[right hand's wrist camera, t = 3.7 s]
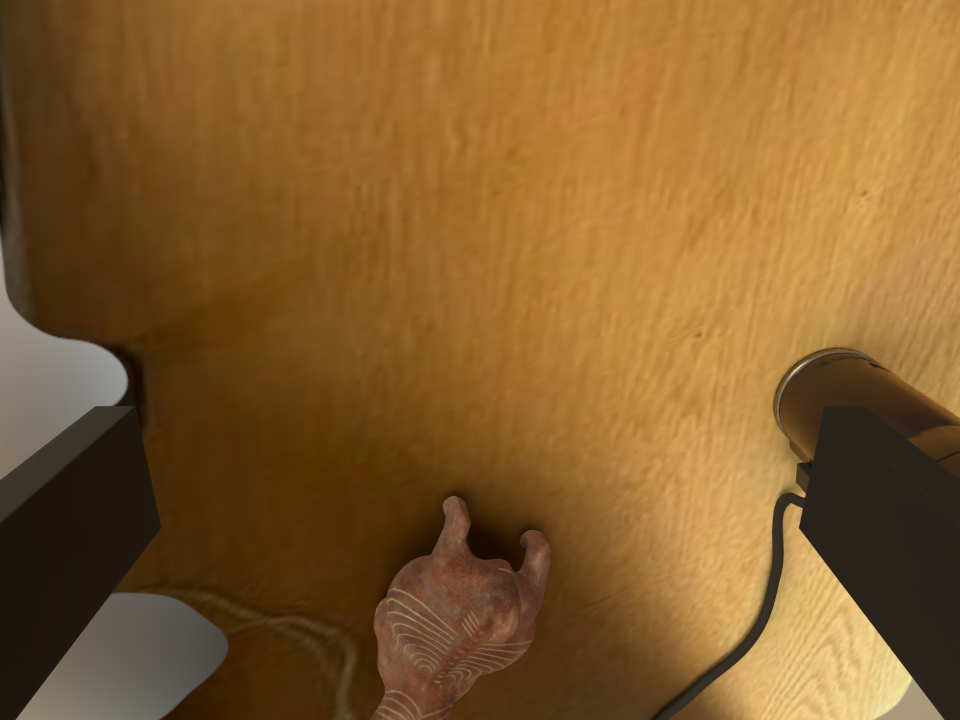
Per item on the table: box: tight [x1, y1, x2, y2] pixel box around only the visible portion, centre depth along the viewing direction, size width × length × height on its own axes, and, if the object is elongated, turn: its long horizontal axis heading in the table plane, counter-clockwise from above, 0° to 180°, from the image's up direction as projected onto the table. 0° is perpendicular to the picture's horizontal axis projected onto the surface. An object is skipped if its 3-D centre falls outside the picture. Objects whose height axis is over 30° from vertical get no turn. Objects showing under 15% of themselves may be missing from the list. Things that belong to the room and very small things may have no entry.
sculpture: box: [371, 496, 551, 720], centre depth 57 cm, size 14×25×15 cm, turn 153°
